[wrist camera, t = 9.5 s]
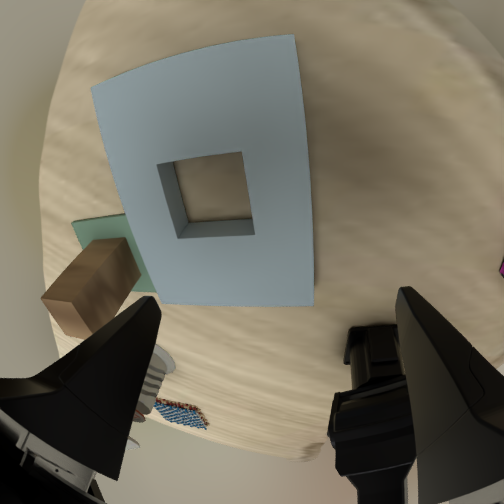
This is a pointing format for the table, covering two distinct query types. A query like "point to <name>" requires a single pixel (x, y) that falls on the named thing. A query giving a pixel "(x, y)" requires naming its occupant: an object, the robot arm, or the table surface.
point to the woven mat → (181, 413)
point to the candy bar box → (502, 270)
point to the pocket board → (212, 143)
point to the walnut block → (92, 287)
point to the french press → (151, 388)
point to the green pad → (114, 229)
